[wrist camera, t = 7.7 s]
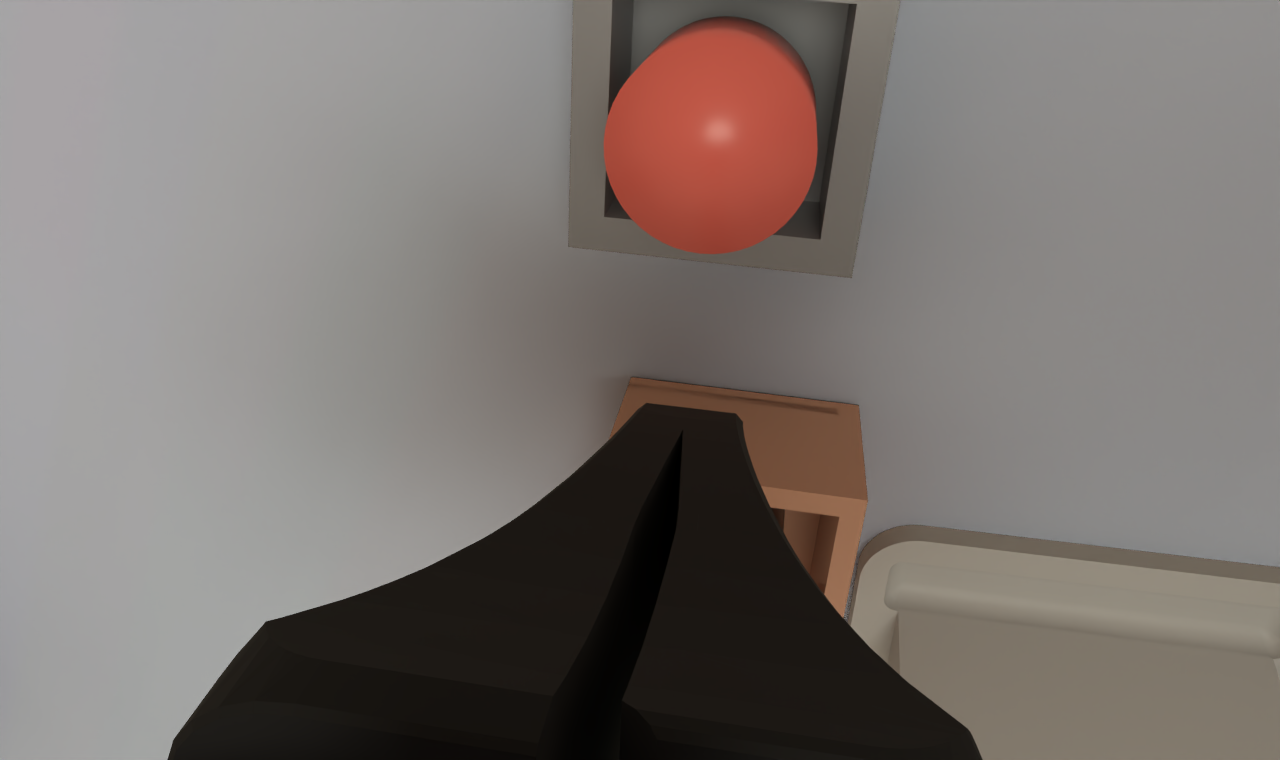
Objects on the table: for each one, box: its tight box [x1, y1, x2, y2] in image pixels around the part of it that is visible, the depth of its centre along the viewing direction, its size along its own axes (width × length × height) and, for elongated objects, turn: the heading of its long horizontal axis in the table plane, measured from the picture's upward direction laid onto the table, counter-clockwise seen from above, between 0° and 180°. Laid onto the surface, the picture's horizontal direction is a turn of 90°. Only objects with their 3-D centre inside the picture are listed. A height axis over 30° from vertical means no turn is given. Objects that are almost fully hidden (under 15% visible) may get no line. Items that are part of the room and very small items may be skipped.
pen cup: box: [609, 377, 868, 617], centre depth 23 cm, size 6×6×4 cm
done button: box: [604, 16, 818, 254], centre depth 16 cm, size 3×3×3 cm
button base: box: [568, 0, 900, 278], centre depth 18 cm, size 6×6×3 cm
